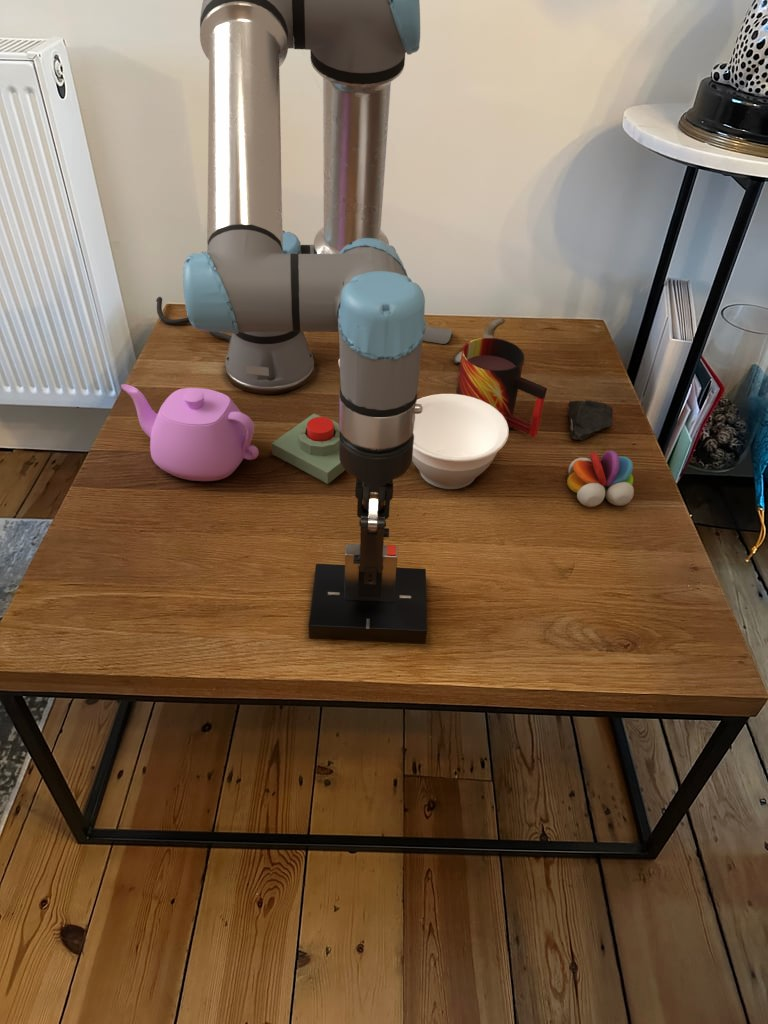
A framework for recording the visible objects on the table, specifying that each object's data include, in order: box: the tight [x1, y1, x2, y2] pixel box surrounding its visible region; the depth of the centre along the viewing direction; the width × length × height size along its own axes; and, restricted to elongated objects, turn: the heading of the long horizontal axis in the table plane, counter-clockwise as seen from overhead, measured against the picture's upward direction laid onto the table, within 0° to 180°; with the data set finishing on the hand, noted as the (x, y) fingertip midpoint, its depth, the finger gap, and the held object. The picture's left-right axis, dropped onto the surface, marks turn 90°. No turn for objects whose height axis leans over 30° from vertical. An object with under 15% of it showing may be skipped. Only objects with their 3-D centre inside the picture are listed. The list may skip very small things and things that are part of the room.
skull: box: [453, 317, 506, 364], centre depth 137 cm, size 10×12×6 cm
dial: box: [344, 543, 398, 602], centre depth 91 cm, size 6×2×8 cm, turn 89°
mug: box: [456, 337, 548, 438], centre depth 122 cm, size 10×14×12 cm
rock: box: [567, 399, 614, 441], centre depth 123 cm, size 9×7×5 cm
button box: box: [271, 412, 346, 485], centre depth 116 cm, size 11×10×4 cm
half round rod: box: [422, 325, 453, 345], centre depth 144 cm, size 4×20×2 cm, turn 77°
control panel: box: [308, 563, 428, 644], centre depth 94 cm, size 14×10×3 cm
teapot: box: [120, 383, 259, 482], centre depth 111 cm, size 20×13×12 cm, turn 78°
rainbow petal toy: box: [566, 450, 635, 508], centre depth 111 cm, size 8×10×7 cm
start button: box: [307, 416, 334, 442], centre depth 114 cm, size 4×4×2 cm
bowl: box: [412, 393, 510, 490], centre depth 113 cm, size 16×16×8 cm
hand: (369, 586), depth 92 cm, fingers closed on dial, 2 cm apart
